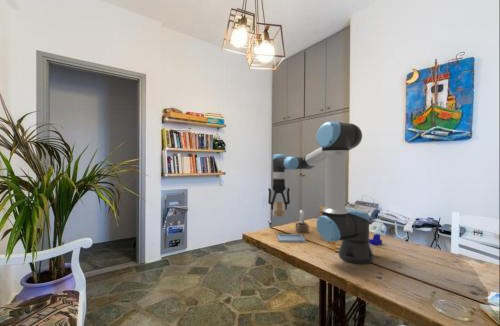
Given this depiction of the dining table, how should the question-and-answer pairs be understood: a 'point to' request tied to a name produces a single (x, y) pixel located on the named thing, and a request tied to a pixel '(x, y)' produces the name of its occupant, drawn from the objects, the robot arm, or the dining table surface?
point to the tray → (290, 238)
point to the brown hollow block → (302, 228)
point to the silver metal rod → (301, 217)
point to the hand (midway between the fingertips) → (279, 215)
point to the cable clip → (376, 240)
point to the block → (279, 209)
